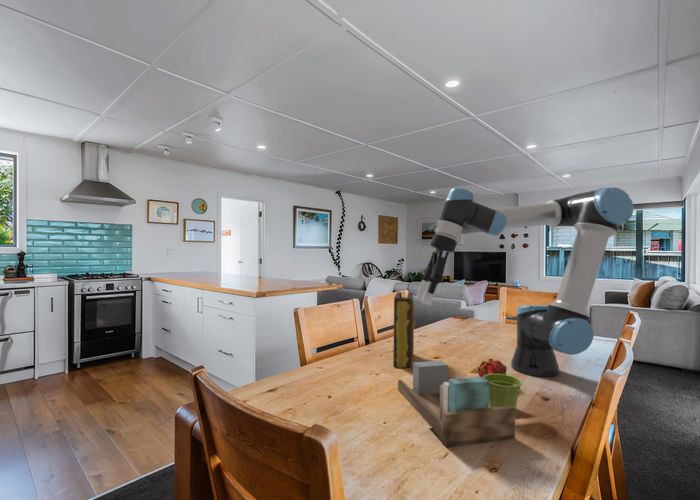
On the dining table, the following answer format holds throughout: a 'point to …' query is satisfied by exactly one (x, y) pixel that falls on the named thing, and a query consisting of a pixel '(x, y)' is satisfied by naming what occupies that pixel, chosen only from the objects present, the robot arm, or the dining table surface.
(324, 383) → the dining table surface
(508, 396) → the plant pot
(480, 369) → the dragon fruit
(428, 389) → the bookend
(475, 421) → the book rack
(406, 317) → the book
